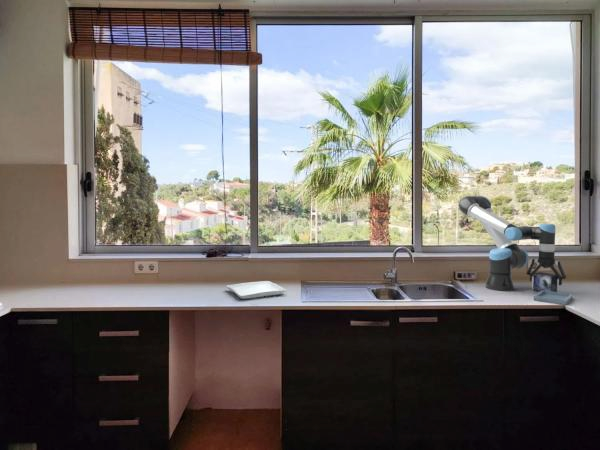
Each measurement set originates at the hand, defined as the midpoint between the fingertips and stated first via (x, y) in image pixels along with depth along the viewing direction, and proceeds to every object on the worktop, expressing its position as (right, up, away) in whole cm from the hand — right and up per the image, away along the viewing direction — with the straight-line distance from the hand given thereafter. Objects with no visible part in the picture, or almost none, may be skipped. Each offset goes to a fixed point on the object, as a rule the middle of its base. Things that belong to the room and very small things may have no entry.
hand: (545, 288), depth 216 cm
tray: (-6, -3, -16) cm, 18 cm away
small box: (0, -2, 0) cm, 2 cm away
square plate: (-166, -3, +1) cm, 166 cm away
